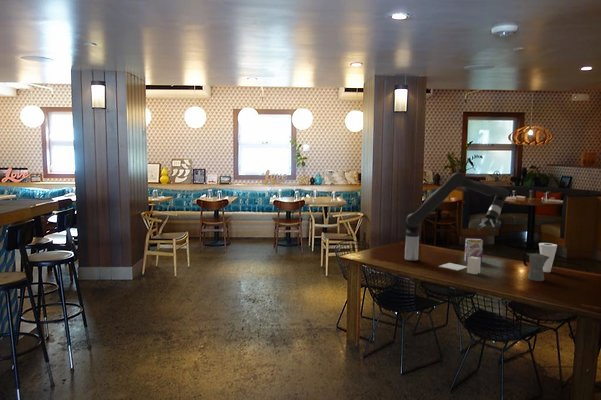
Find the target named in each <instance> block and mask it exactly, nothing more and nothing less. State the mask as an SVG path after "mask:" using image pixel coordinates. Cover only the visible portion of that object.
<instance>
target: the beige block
mask: <svg viewBox="0 0 601 400" xmlns="http://www.w3.org/2000/svg"><path fill="white" fill-rule="evenodd" d="M466 264H467V268H466V273H467V274H472V275H475V274H476V275H478V273H479V274H481V258H479V257H473V256H472V257H468V262H467V263H466Z"/></svg>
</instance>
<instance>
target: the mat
mask: <svg viewBox="0 0 601 400" xmlns="http://www.w3.org/2000/svg"><path fill="white" fill-rule="evenodd" d="M438 267H439V268H443V269H449V270H452V271H458V272H459V271H461V270H464V269H467V266H466V265H461V264H456V263H452V262H448V263H443V264H441V265H438Z"/></svg>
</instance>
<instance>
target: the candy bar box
mask: <svg viewBox="0 0 601 400" xmlns="http://www.w3.org/2000/svg"><path fill="white" fill-rule="evenodd" d="M464 241H465V244H464V262H465V263H468V257H472V256H473V257H479V258H481V263H482V262H483V261H482V260H483V249H484V248H483V247H484V240H483V239H481V238H465V240H464Z"/></svg>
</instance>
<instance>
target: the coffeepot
mask: <svg viewBox="0 0 601 400" xmlns="http://www.w3.org/2000/svg"><path fill="white" fill-rule="evenodd" d="M526 257H528V259H529V265H530V268H529V269H528V270H529V271H528V275H527V279H528V280H530V281H535V282H543V281H545V275H544V274H545V272H543V267H544V263H545V262H546V261H547V259H548V258H549V257H548V256H545V255H542V254H540V250H536V252H535V253H531V252H530V253H528V252H523V253H522V254H521V258H522V262H523V266H525V267H528V266H529V265H528V264H527V261H526Z"/></svg>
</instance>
